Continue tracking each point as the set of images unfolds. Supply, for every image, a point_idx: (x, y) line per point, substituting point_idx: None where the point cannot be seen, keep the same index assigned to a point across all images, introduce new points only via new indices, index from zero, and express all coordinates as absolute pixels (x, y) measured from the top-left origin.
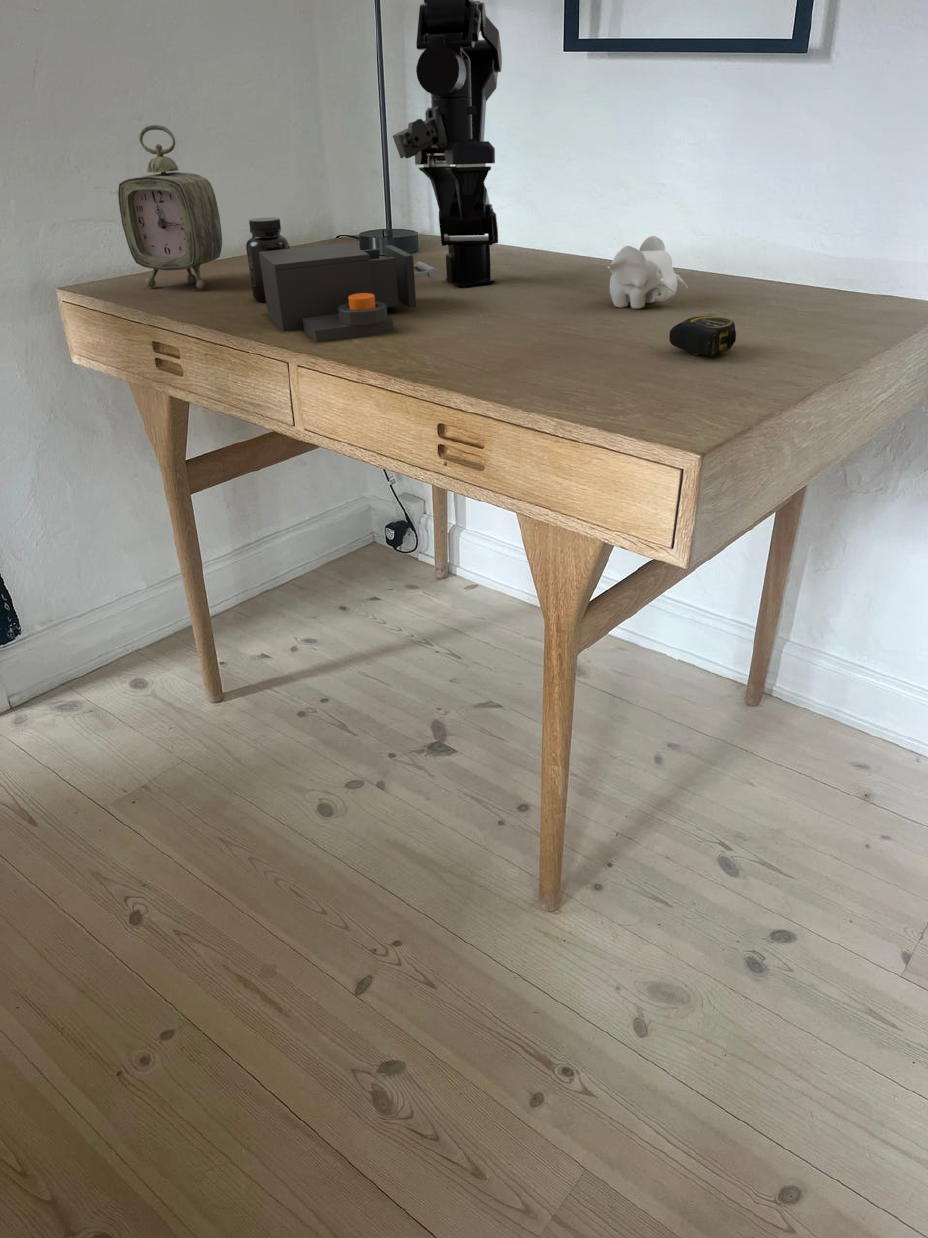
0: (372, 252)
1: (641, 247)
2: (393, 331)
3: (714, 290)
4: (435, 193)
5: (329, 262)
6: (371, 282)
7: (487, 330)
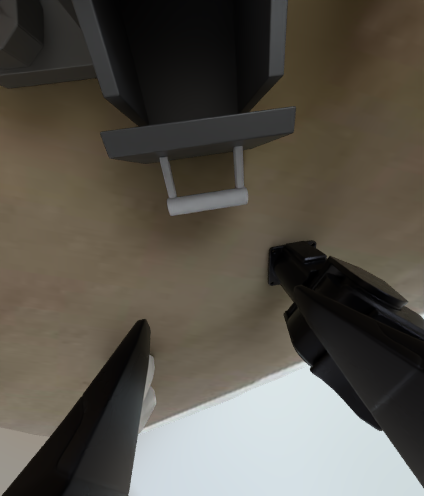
0: (266, 51)
1: (150, 412)
2: (6, 87)
3: (166, 393)
4: (367, 322)
5: None
6: (69, 14)
7: (33, 236)
